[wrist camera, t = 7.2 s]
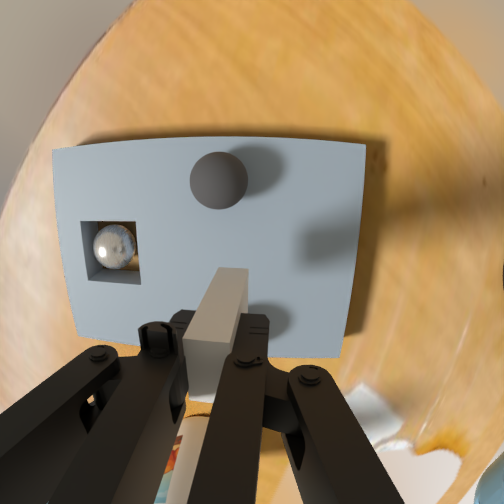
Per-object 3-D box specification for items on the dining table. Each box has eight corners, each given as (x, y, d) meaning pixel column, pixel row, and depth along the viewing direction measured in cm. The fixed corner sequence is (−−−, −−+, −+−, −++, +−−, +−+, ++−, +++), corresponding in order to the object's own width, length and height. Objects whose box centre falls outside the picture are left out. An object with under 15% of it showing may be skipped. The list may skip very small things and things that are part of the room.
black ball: (250, 151, 18) (246, 151, 15) (249, 205, 19) (245, 215, 16) (196, 151, 18) (182, 152, 15) (196, 204, 19) (183, 214, 16)
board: (355, 145, 20) (366, 144, 17) (333, 339, 24) (339, 357, 22) (70, 148, 21) (52, 149, 18) (91, 321, 25) (78, 336, 23)
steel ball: (123, 231, 19) (82, 230, 19) (127, 277, 20) (88, 274, 20) (141, 220, 22) (104, 219, 22) (143, 261, 23) (107, 259, 23)
